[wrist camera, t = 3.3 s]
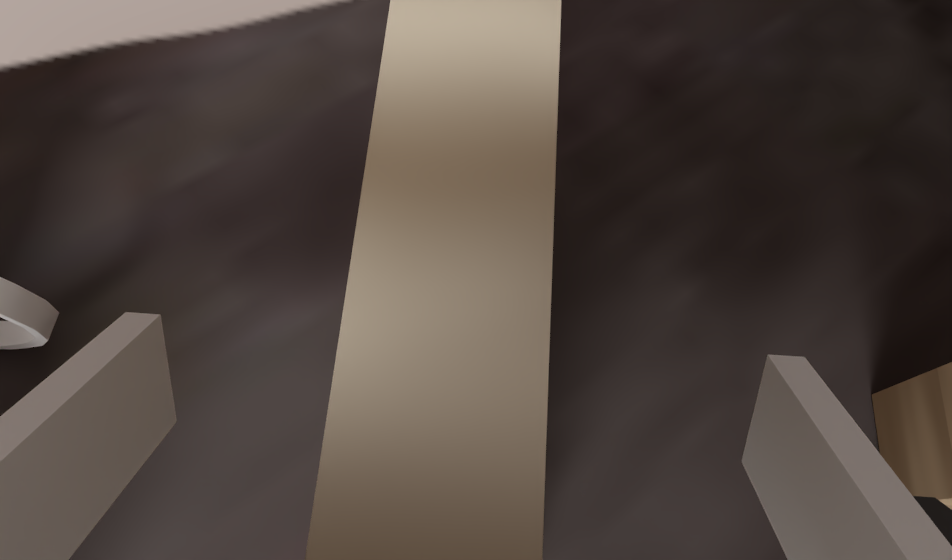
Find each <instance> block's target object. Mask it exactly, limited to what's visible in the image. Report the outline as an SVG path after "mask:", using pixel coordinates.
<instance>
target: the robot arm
mask: <svg viewBox="0 0 952 560" xmlns="http://www.w3.org/2000/svg"><path fill="white" fill-rule="evenodd" d="M176 422H177V419H176V413H175V406H174V399H173V393H172V386H171V380H170V373H169V366H168V360H167V353H166V347H165V340H164V333H163V327H162V320H161V314H146V313H131V312H125V313H124V314H123V315H122V316H121V317H119V318H118V319H117V320H116V321H115V322H113V323H112V324H111V325H110V326H108V327H107V328H106V329H105V330H104V331H102V332H101V333H100V334H99V335H98V336H96V337H95V338H94V339H93V340H92V341H90V342H89V343H88V344H87V345H86V346H84V347H83V348H82V349H81V350H80V351H78V352H77V353H76V354H75V355H74V356H72V357H71V358H70V359H69V360H68V361H66V362H65V363H64V364H63V365H62V366H60V367H59V368H58V369H57V370H56V371H54V372H53V373H52V374H51V375H50V376H48V377H47V378H46V379H45V380H44V381H42V382H41V383H40V384H39V385H37V386H36V387H35V388H34V389H33V390H31V391H30V392H29V393H28V394H27V395H25V396H24V397H23V398H22V399H21V400H19V401H18V402H17V403H16V404H15V405H13V406H12V407H11V408H10V409H9V410H7V411H6V412H5V413H4V414H3V415H1V416H0V560H69V559H70V557H71V556H72V555H73V553H74V552H75V551H76V550H77V548H78V547H79V546H80V544H81V543H82V542H83V541H84V539H85V538H86V537H87V536H88V534H89V533H90V532H91V530H92V529H93V528H94V527H95V525H96V524H97V523H98V522H99V520H100V519H101V518H102V516H103V515H104V514H105V513H106V511H107V510H108V509H109V507H110V506H111V505H112V504H113V502H114V501H115V500H116V499H117V497H118V496H119V495H120V493H121V492H122V491H123V490H124V488H125V487H126V486H127V484H128V483H129V482H130V481H131V479H132V478H133V477H134V476H135V474H136V473H137V472H138V470H139V469H140V468H141V467H142V465H143V464H144V463H145V461H146V460H147V459H148V458H149V456H150V455H151V454H152V453H153V451H154V450H155V449H156V447H157V446H158V445H159V444H160V442H161V441H162V440H163V438H164V437H165V436H166V435H167V433H168V432H169V431H170V430H171V428H172V427H173V426H174V424H175V423H176ZM741 462H742V464H743V466H744V468H745V470H746V472H747V474H748V477H749V479H750V481H751V483H752V485H753V487H754V489H755V491H756V493H757V496H758V498H759V500H760V502H761V504H762V506H763V508H764V510H765V512H766V515H767V517H768V519H769V521H770V523H771V525H772V527H773V529H774V532H775V534H776V536H777V538H778V540H779V542H780V544H781V546H782V548H783V551H784V553H785V555H786V557H787V559H788V560H952V510H951V509H950V508H949V507H947V506H946V505H945V504H943V503H942V502H940V501H939V500H938V499H936V498H935V497H921V496H912V494H911V493H910V492H909V491H908V489H907V488H906V487H905V485H904V484H903V483H902V482H901V480H900V479H899V478H898V476H897V475H896V474H895V473H894V471H893V470H892V469H891V467H890V466H889V465H888V464H887V462H886V461H885V460H884V458H883V457H882V456H881V455H880V453H879V452H878V451H877V449H876V448H875V447H874V446H873V444H872V443H871V442H870V440H869V439H868V438H867V437H866V435H865V434H864V433H863V431H862V430H861V429H860V428H859V426H858V425H857V424H856V422H855V421H854V420H853V419H852V417H851V416H850V415H849V413H848V412H847V411H846V410H845V408H844V407H843V406H842V404H841V403H840V402H839V401H838V399H837V398H836V397H835V395H834V394H833V393H832V392H831V390H830V389H829V388H828V386H827V385H826V384H825V383H824V381H823V380H822V379H821V377H820V376H819V375H818V374H817V372H816V371H815V370H814V368H813V367H812V366H811V365H810V363H809V362H808V361H807V359H806V358H805V357H797V356H782V355H767V359H766V363H765V367H764V371H763V375H762V379H761V383H760V387H759V392H758V396H757V400H756V404H755V408H754V412H753V416H752V420H751V424H750V428H749V433H748V437H747V441H746V445H745V449H744V453H743V457H742V461H741Z"/></svg>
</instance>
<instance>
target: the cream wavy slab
mask: <svg viewBox="0 0 952 560" xmlns="http://www.w3.org/2000/svg"><path fill="white" fill-rule="evenodd" d="M560 27H561V0H391V1H390V8H389V14H388V21H387V27H386V34H385V40H384V47H383V53H382V60H381V66H380V73H379V80H378V86H377V93H376V99H375V106H374V112H373V119H372V125H371V132H370V138H369V145H368V151H367V158H366V164H365V171H364V177H363V184H362V190H361V197H360V204H359V210H358V217H357V223H356V230H355V236H354V243H353V249H352V256H351V262H350V269H349V275H348V282H347V288H346V295H345V301H344V308H343V315H342V321H341V328H340V334H339V341H338V347H337V354H336V360H335V367H334V373H333V380H332V386H331V393H330V399H329V406H328V412H327V419H326V425H325V432H324V439H323V445H322V452H321V458H320V465H319V471H318V478H317V484H316V491H315V497H314V504H313V510H312V517H311V523H310V530H309V536H308V543H307V549H306V556H305V560H542V551H543V522H544V493H545V464H546V435H547V406H548V376H549V347H550V318H551V289H552V260H553V231H554V202H555V173H556V144H557V114H558V85H559V56H560Z"/></svg>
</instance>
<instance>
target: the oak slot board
mask: <svg viewBox="0 0 952 560" xmlns="http://www.w3.org/2000/svg"><path fill="white" fill-rule="evenodd" d="M872 401H873V409H874V416H875V423H876V430H877V437H878V444H879V451H880V455H881V456H882V457H883V458H884V460H885V461H886V462H887V464H888V465H889V466H890V467H891V469H892V470H893V471H894V473H895V474H896V475H897V476H898V478H899V479H900V480H901V482H902V483H903V484H904V485H905V487H906V488H907V489H908V491H909V492H910V493H911V494H912V496H921V497H935V498H936V499H938V500H939V501H940V502H942V503H943V504H945V505H946V506H947V507H949V508H950V509H951V510H952V362H950V363H948V364H945V365H943V366H941V367H938V368H936V369H933V370H931V371H928V372H926V373H923V374H921V375H918V376H916V377H914V378H911V379H909V380H906V381H904V382H901V383H899V384H896V385H894V386H892V387H889V388H887V389H884V390H882V391H879V392H877V393H874V394H872Z"/></svg>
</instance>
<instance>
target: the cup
mask: <svg viewBox="0 0 952 560" xmlns="http://www.w3.org/2000/svg"><path fill="white" fill-rule="evenodd" d="M58 315H59V312H58V311H57V310H56V309H55V308H54V307H53V306H52V305H51V304H50V303H49V302H48V301H47V300H45V299H43V298H41V297H39V296H37V295H36V294H34V293H32V292H30V291H28V290H26V289H24V288H22V287H21V286H19V285H17V284H15V283H13V282H10V281H8V280H6V279H4V278H2V277H0V317H1V318H3V319H5V320H7V321H0V349H22V348H31V347H37V346H43V345H44V344H45V343H46V342H47V341H48V340H49V337H50V335H51V332H52V330H53V327H54V325H55V322H56V320H57V317H58Z"/></svg>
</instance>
